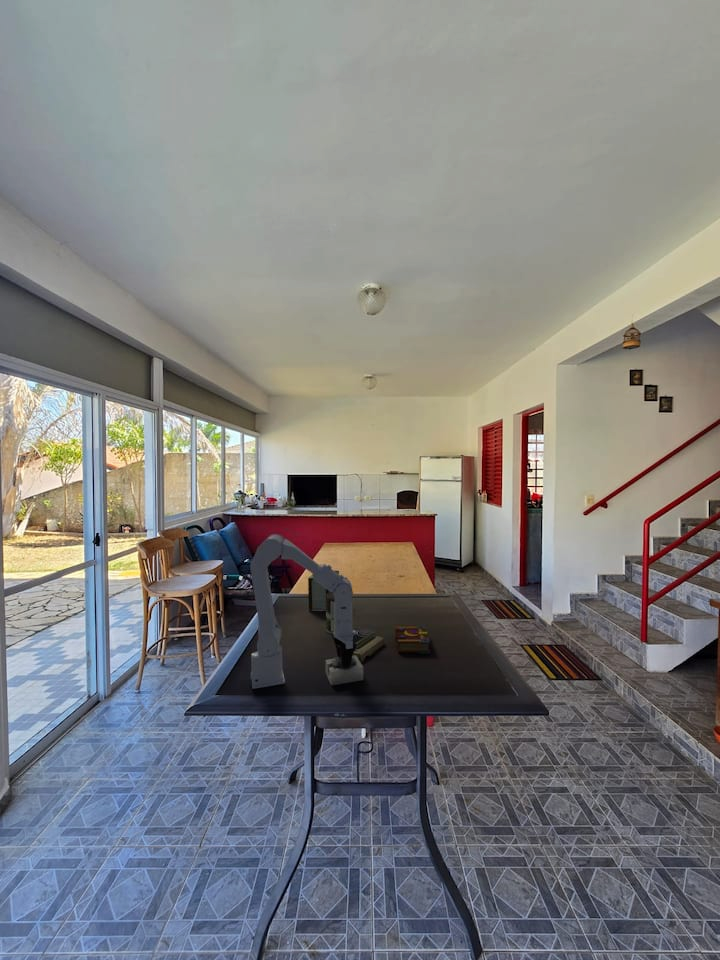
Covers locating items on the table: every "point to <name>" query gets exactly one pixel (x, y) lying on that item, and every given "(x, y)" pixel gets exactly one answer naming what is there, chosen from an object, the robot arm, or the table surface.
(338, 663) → the block
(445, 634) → the table surface
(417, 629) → the decorative book
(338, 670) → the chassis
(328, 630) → the coffee can
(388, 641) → the table surface
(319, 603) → the protein box
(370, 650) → the computer
